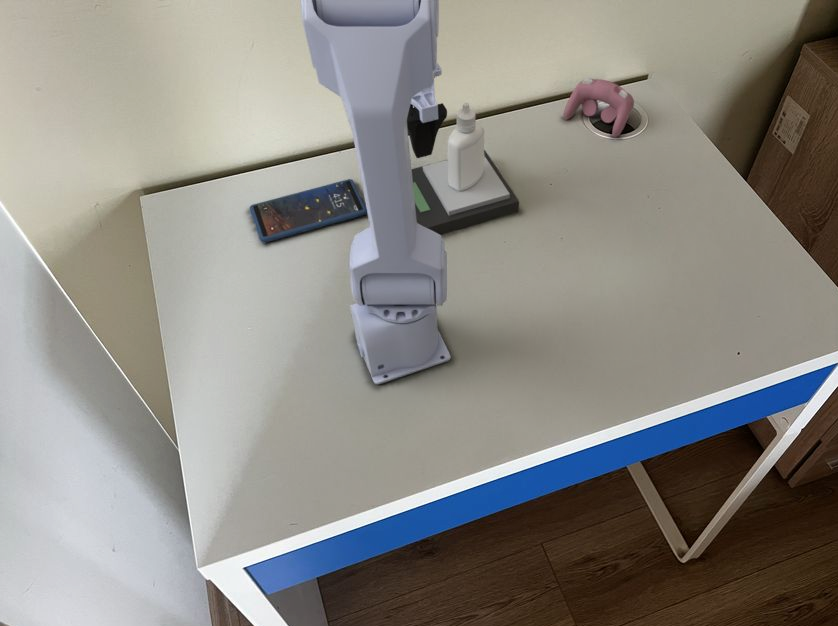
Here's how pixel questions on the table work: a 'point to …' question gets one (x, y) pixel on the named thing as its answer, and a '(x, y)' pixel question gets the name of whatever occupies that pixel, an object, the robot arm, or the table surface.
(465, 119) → the eye dropper bottle
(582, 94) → the video game controller
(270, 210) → the smartphone
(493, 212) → the scale
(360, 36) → the robot arm
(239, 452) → the table surface
